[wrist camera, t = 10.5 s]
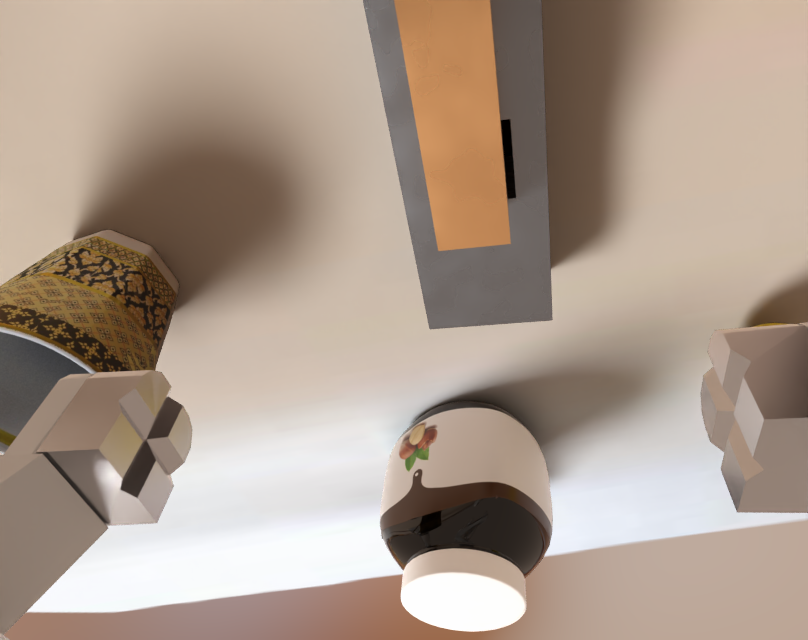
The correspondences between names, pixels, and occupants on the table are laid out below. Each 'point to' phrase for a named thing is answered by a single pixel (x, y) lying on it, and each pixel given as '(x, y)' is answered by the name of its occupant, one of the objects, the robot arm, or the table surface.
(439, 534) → the spread jar
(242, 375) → the table surface
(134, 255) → the ceramic cup
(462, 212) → the wooden arch block
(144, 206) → the table surface
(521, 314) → the rail
